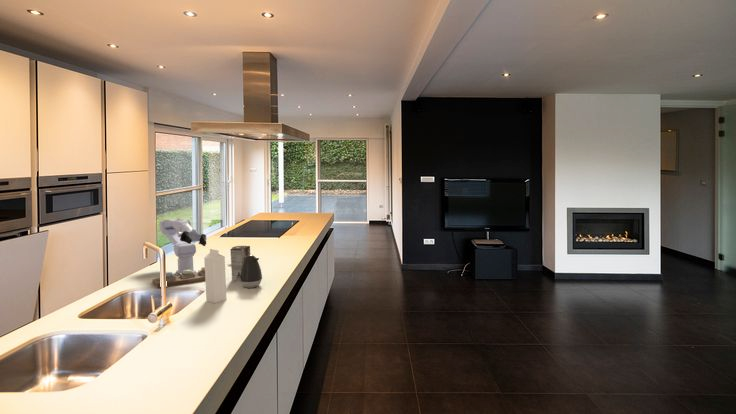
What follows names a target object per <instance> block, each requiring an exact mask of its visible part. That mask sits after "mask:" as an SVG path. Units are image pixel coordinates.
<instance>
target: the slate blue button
mask: <svg viewBox="0 0 736 414" xmlns="http://www.w3.org/2000/svg"><path fill="white" fill-rule="evenodd" d="M165 273H166V278H168V277H173V275H174V274H173V272H171V271H167V272H165ZM172 274H173V275H172Z"/></svg>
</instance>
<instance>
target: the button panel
mask: <svg viewBox="0 0 736 414" xmlns="http://www.w3.org/2000/svg"><path fill="white" fill-rule="evenodd" d="M172 275H173V277H168V278H166V281H167V286H168V287H167V288H169V287H176V286H180V285H188V284H194V283H199V282H205V272H202V271H201V269H200V270H197V271H196V272H195V273H193V272H192V274H188V275H183V273H180V274H179V275H178V274H176V275H175V274H173V273H172ZM151 280H152V284H153V285H154V286H155V287H156V289H161V288H160V277H157V278H156V277H155V278H152V279H151Z"/></svg>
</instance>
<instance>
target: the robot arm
mask: <svg viewBox="0 0 736 414" xmlns="http://www.w3.org/2000/svg"><path fill="white" fill-rule="evenodd" d="M158 225H159V231H160V232H161V234H162V235H164V236H165V237H167V239H168V241H170V243H171V244H172V245H173V252H174V254H175V256H176V257H177V270H176V271H175V272H176V273H178V274H179V275H180V273H183V270H191V271H192V272H193V273H196V272H197V271H196V270H195V268H194V256H195V254H196V253H197V246H196V244H195V243H194V242H198V245H201V246H203V247H206V245H207V238H208V237H207V235H206V234H204V233H199V232H198V231H197V229H196V228H193V227H192V226H191V222H190V220H189V219H187V220H184V219H181V218H178V217H177V218H172V219H170V218H169V219H161V220H160V221H159V224H158Z"/></svg>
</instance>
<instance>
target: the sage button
mask: <svg viewBox="0 0 736 414" xmlns="http://www.w3.org/2000/svg"><path fill="white" fill-rule="evenodd" d="M188 274H192V271H191V270H183V275H188Z"/></svg>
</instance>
